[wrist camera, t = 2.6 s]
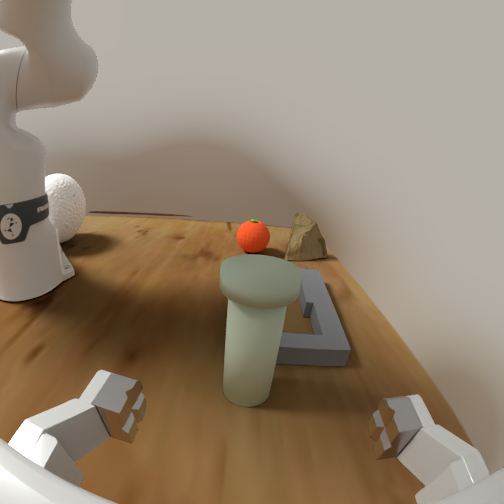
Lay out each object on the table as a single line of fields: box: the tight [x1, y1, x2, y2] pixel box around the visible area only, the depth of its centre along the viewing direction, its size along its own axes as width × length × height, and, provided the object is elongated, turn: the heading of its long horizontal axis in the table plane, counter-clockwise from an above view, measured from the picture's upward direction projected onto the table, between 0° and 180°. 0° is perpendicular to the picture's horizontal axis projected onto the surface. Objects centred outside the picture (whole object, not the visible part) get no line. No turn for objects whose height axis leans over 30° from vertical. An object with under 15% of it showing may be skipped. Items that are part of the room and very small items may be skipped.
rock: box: [284, 213, 327, 261], centre depth 59 cm, size 10×8×10 cm
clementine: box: [237, 220, 270, 253], centre depth 60 cm, size 8×7×7 cm
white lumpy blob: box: [45, 174, 86, 243], centre depth 50 cm, size 20×18×16 cm
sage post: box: [219, 254, 302, 407], centre depth 22 cm, size 6×6×12 cm
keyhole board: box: [276, 268, 351, 366], centre depth 38 cm, size 22×13×2 cm, turn 177°
